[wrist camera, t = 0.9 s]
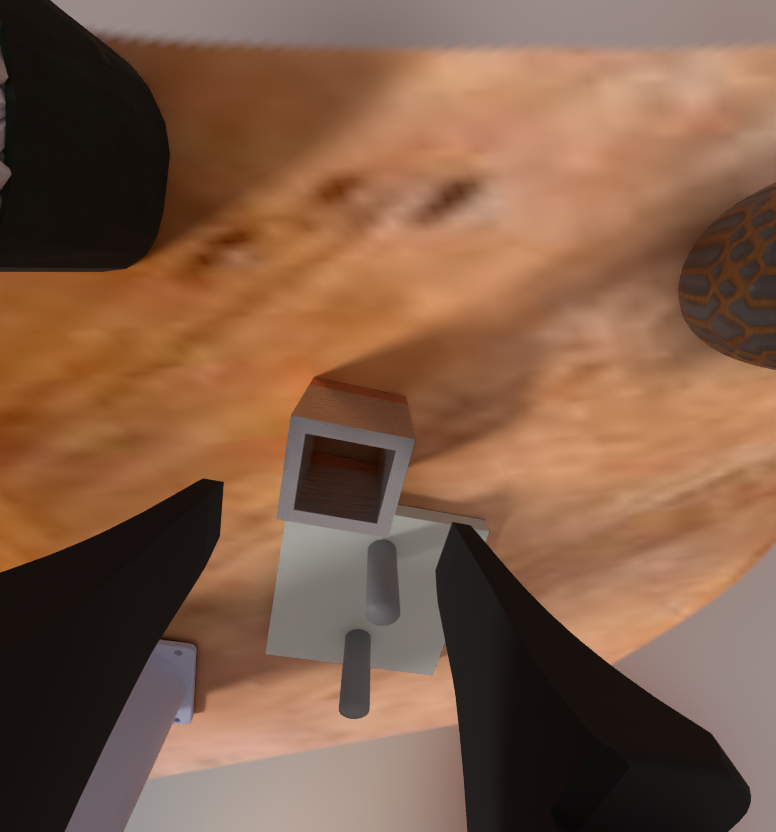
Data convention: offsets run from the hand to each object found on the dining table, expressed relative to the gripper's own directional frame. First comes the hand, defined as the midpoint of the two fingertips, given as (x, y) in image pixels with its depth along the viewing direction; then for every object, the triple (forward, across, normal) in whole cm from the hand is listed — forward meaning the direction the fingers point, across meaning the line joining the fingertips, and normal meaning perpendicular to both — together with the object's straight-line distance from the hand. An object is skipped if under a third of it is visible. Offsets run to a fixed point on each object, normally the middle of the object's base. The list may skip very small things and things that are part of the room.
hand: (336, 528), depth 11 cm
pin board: (+8, -3, +10) cm, 13 cm away
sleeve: (+8, 0, 0) cm, 8 cm away
